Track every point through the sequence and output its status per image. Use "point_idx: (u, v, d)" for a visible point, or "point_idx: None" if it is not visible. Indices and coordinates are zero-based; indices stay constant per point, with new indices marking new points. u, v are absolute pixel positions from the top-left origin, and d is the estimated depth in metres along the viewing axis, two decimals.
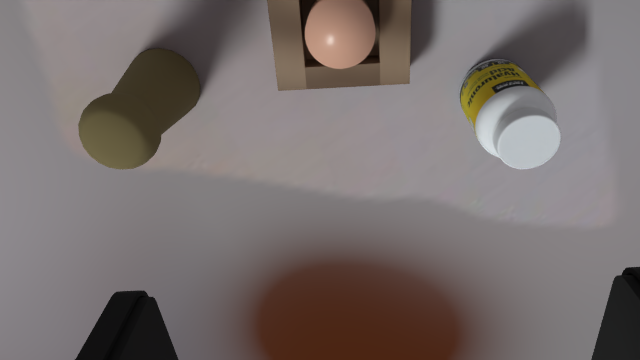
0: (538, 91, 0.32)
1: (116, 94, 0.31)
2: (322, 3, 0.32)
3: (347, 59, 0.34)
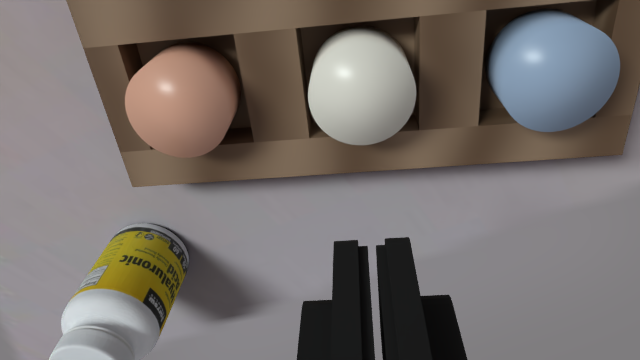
0: (156, 341, 0.28)
1: None
2: (216, 86, 0.21)
3: (143, 123, 0.23)
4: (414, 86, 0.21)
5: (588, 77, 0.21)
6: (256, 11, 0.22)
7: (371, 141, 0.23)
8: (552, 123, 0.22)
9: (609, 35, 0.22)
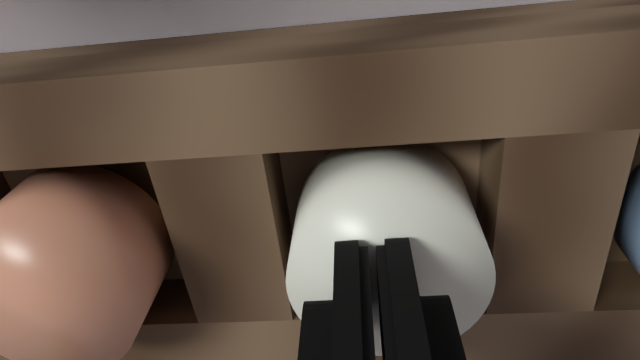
0: None
1: None
2: (105, 272, 0.11)
3: None
4: (493, 273, 0.11)
5: None
6: (185, 124, 0.11)
7: None
8: None
9: None
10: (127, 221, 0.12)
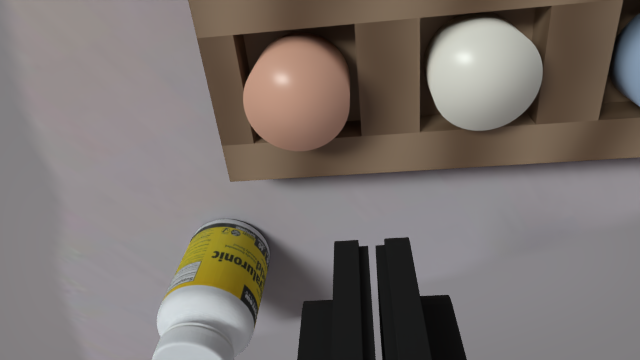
0: (250, 339, 0.27)
1: None
2: (340, 77, 0.21)
3: (259, 115, 0.22)
4: (541, 71, 0.21)
5: None
6: (381, 0, 0.21)
7: (490, 126, 0.23)
8: None
9: None
10: (339, 60, 0.22)
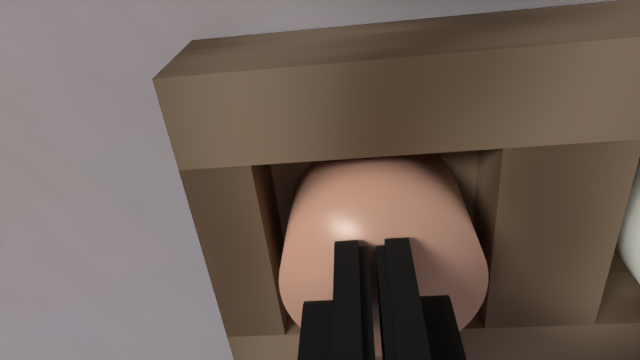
0: None
1: None
2: (476, 247, 0.10)
3: None
4: None
5: None
6: (569, 105, 0.10)
7: None
8: None
9: None
10: (458, 196, 0.12)
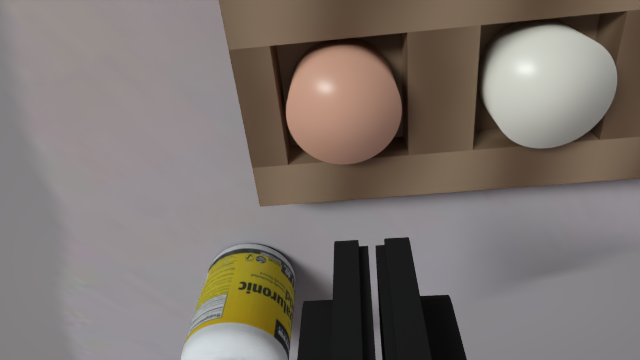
0: None
1: None
2: (393, 85, 0.19)
3: (302, 127, 0.20)
4: (615, 83, 0.19)
5: None
6: (439, 6, 0.19)
7: (554, 144, 0.20)
8: None
9: None
10: (387, 66, 0.21)
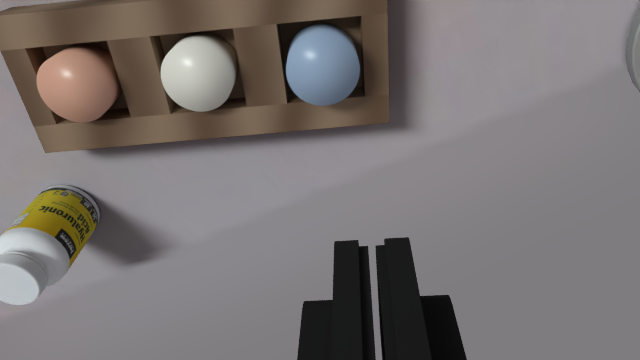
0: (66, 268, 0.37)
1: None
2: (98, 72, 0.32)
3: (50, 98, 0.33)
4: (230, 71, 0.32)
5: (340, 68, 0.31)
6: (120, 25, 0.32)
7: (208, 108, 0.33)
8: (324, 99, 0.32)
9: (362, 40, 0.32)
10: (105, 61, 0.33)
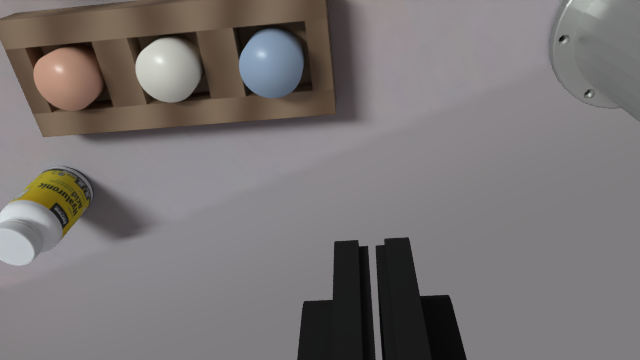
0: (59, 236, 0.43)
1: None
2: (84, 68, 0.38)
3: (45, 89, 0.39)
4: (193, 67, 0.38)
5: (285, 66, 0.36)
6: (102, 28, 0.37)
7: (177, 100, 0.39)
8: (273, 92, 0.37)
9: (307, 42, 0.38)
10: (91, 58, 0.39)
